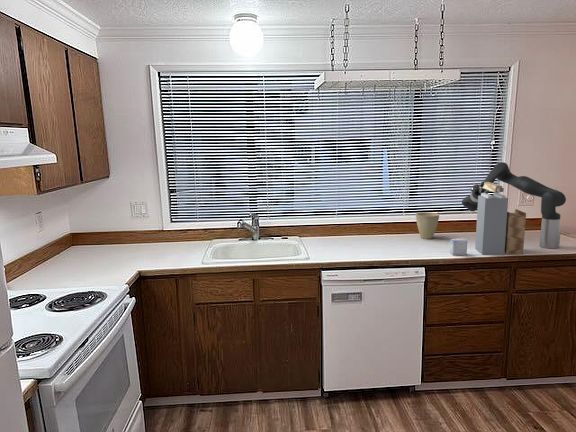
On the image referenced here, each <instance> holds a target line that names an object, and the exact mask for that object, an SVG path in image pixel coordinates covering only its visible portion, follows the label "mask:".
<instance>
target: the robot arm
mask: <svg viewBox="0 0 576 432" xmlns="http://www.w3.org/2000/svg"><path fill="white" fill-rule="evenodd" d="M496 179H497V180H498V181H500V182H503V183H505V184H508V185H510V186H512V187H514V188H515V189H518V190H519V191H520V192H523V193H525V194H527V195H531V196H535V197H538V198H541V199H540V200H541V203H540V213H541V223H540V224H541V227H540V237H539V247H541V248H544V249H557V248H560V245H561V244H560V242H561V241H560V240H561V231H560V225H561V214H560V213H559V212H557V210H556V208H557V207H562V206H563V205H565V203H566V201H567V198H566V195H565V194H564V193H563V192H562V191H559V190H557V189H554V188H551V187H548V186H546V185H544V184H543V183H541V182H539V181H537V180H535V179H533V178H531V177H529V176H526V175H522V176H521V175H520V176H517V175H516V174H513V173H512V172H511V170H510V168H509V165H508V163H506V162H498V163H496V164H495V165H494V166H493V167H492V168H491V171H490V172H489V173H488V174H487V176H486V178H485V179H484V181H481V182H480V183H479V184H478V183H476V184H474V185H473V186H471V187H470V195H467V196H466V197H464V198H463V199H462V200H461V204H462V206H463V207H465V208H466V209H468V210H469V211H470V212H475V211H477V209H478V196H481V193H486V194H489V193H490V190H487V189H484V188H482V187H483V186H484V182H490V183H494V184H495V181H496Z"/></svg>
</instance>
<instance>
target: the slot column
mask: <svg viewBox="0 0 576 432" xmlns="http://www.w3.org/2000/svg"><path fill="white" fill-rule="evenodd" d="M508 208H509V198H508V197H506V195H505V194H502V193H500V192H493V195H491V194H489V193H488V194H486V193H481V196H478V208H477V210H476V211H477V212H476V213H477V214H476V228H475V229H476V230H475V246H474V247H475V248H474V249H475V250H476V251H477V252H478V253H480V254H481V255H501V256H502V255H505V253H504V250H505V236H506V222H507V212H508Z"/></svg>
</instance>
